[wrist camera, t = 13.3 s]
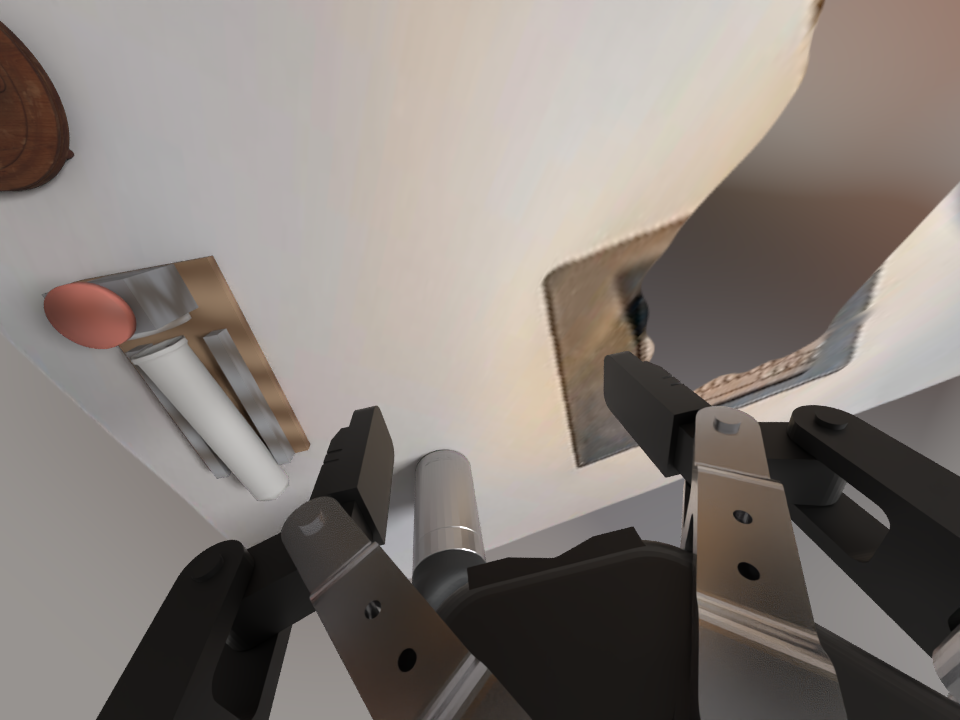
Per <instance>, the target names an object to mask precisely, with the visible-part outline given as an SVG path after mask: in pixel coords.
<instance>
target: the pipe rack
mask: <svg viewBox="0 0 960 720" xmlns="http://www.w3.org/2000/svg"><path fill="white" fill-rule="evenodd" d="M42 296H43V297H44V298H45V300H44V311H45V314H46V316H47V318H48V320H49V322H50V323H51V324H52V326H53V327H54V328H55V329H56V330H57V331H58V332H59V333H61V334H62V335H63V336H64V337H66V338H68V339H69V340H71V341H73V342H75V343H77V344H79V345H82V346H85V347H89V348H95V349H108V348H112V347H115V346H118V345H119V347H120V348H121V349H122V351H123V352H124V354H125V355H126V356H127V358H128V359H129V360H130V362H131V357H132V356H133V355H135V354H137V353H139V352H140V351H142V350H144V349H145V348H148V347H150V346H153V345H155V344H158V343H160V342H163V341H165V340H168V339H171V338H175V337H178V336H181V335H184V336H185V337H186V339H187V340H188V342H187V344H188V345H189V346H190V348H191V349H192V350H193V352H194V353H195V354H196V356H197V357H198V358H199V359H200V361H201V362H202V363H203V365H204V366H205V367H206V369H207V370H208V371H209V372H210V374H211V375H212V376H213V378H214V379H215V380H216V382H217V383H218V384H219V386H220V387H221V388H222V389H223V391H224V392H225V393H226V395H227V396H228V397H229V399H230V400H231V401H232V403H233V404H234V405H235V406H236V408H237V409H238V410H239V412H240V413H241V414H242V416H243V417H244V418H245V420H246V421H247V422H248V423H249V425H250V426H251V427H252V429H253V430H254V431H255V433H256V434H257V435H258V436H259V438H260V439H261V440H262V442H263V443H264V444H265V446H266V447H267V448H268V450H269V451H270V452H271V453H272V455H273V456H274V458H275V460H276V461H277V463H278V465H282V464H286V463H290V462H291V460H292V458H293V456H294V454H295V453H297V452H301V451H306V450H308V449H309V447H310V443H309V441H308V439H307V437H306V435H305V433H304V431H303V429H302V427H301V425H300V423H299V422H298V420H297V418H296V416H295V414H294V412H293V410H292V408H291V406H290V404H289V402H288V400H287V398H286V396H285V394H284V392H283V391H282V389H281V387H280V385H279V383H278V381H277V379H276V377H275V375H274V373H273V371H272V369H271V367H270V365H269V363H268V362H267V360H266V358H265V356H264V354H263V352H262V350H261V348H260V346H259V344H258V342H257V340H256V338H255V336H254V334H253V332H252V331H251V329H250V327H249V325H248V323H247V321H246V319H245V317H244V315H243V313H242V311H241V309H240V307H239V305H238V303H237V302H236V300H235V298H234V296H233V294H232V292H231V290H230V288H229V286H228V284H227V282H226V280H225V278H224V276H223V274H222V272H221V271H220V269H219V267H218V265H217V263H216V261H215V259H214V257H213V256H208V257H203V258H198V259H192V260H187V261H181V262H176V263H171V264H165V265H160V266H154V267H149V268H144V269H138V270H133V271H127V272H122V273H117V274H111V275H106V276H100V277H95V278H90V279H84V280H80V281H76V282H73V283H70V284H66V285H62V286H59V287H56V288H54V289H52V290H51V291H50V292H48V293H44V294H42ZM131 363H132V362H131ZM132 364H133V363H132ZM133 366H134V367H135V369H136V370H137V371H138V373H139V374H140V375H141V377H142V378H143V379H144V381H145V382H146V384H147V385H148V386H149V388H150V389H151V390H152V392H153V393H154V395H155V396H156V397H157V399H158V400H159V401H160V403H161V404H162V405H163V407H164V408H165V410H166V411H167V412H168V414H169V415H170V416H171V418H172V419H173V420H174V422H175V423H176V425H177V426H178V427H179V429H180V430H181V431H182V433H183V434H184V435H185V437H186V438H187V440H188V441H189V442H190V444H191V445H192V446H193V448H194V449H195V450H196V452H197V453H198V455H199V456H200V457H201V459H202V460H203V461H204V463H205V464H206V465H207V467H208V468H209V470H210V471H211V472H212V473H213V474H214V476H215V477H216V478H217V479H218V478H223V477H228V476H229V475H230V473H231V472H232V471H231V470H230V469H229V468H228V467H227V466H226V464H225V463H224V462H223V461H222V460H221V459H220V458H219V457H218V455H217V454H216V453H215V452H214V451H213V450H212V449H211V447H210V446H209V445H208V444H207V443H206V442H205V441H204V439H203V438H202V437H201V436H200V435H199V434H198V433H197V431H196V430H195V429H194V428H193V427H192V426H191V425H190V423H189V422H188V421H187V420H186V419H185V418H184V417H183V415H182V414H181V413H180V412H179V411H178V410H177V409H176V407H175V406H174V405H173V404H172V403H171V402H170V401H169V399H168V398H167V397H166V396H165V395H164V394H163V393H162V391H161V390H160V389H159V388H158V387H157V386H156V385H155V383H154V382H153V381H152V380H151V379H150V378H149V377H148V375H147V374H146V373H145V372H144V371H143V370H142V369H141V368H140V367H139V366H138V365H134V364H133Z"/></svg>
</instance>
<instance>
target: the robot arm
mask: <svg viewBox="0 0 960 720" xmlns="http://www.w3.org/2000/svg"><path fill="white" fill-rule="evenodd" d="M604 398H605V401H606V404H607V406H608V408H609V409H610V411H611V412H612V413H613V414H614V416H615V417H616V418H617V419H618V420H619V422H620V423H621V424H622V425H623V427H624V428H625V429H626V430H627V431H628V433H629V434H630V435H631V436H632V437H633V439H634V440H635V441H636V442H637V444H638V445H639V446H640V447H641V448H642V450H643V451H644V452H645V453H646V454H647V456H648V457H649V458H650V459H651V461H652V462H653V463H654V464H655V465H656V467H657V468H658V469H659V470H660V472H661V473H662V474H663V475H664V476H665V478H666V477H670V476H674V475H679V474H681V475H682V476H683V477H684V479H685V482H684V490H683V509H682V528H681V544H680V548H678V547H675V546H673V545H670V544H665V543H661V542H657V541H649V540H641V538H640V537H639V535H638V534H637V532H636V530H635V528H634V527H629V528H625V529H621V530H617V531H613V532H609V533H605V534H601V535H597V536H593V537H591V538H590V539H588V540H586V541H584V542H583V543H581V544H579V545H577V546H576V547H574V548H572V549H571V550H569V551H567V552H565V553H563V554H562V555H560V556H558V557H555V558H510V557H508V558H504V559H501V560H496V561H492V562H488V563H486V557H485V551H484V545H483V540H482V534H481V527H480V521H479V515H478V509H477V503H476V497H475V491H474V484H473V478H472V472H471V467H470V463H469V461H468V459H467V458H466V457H465V456H464V455H462V454H461V453H458V452H456V451H451V450H440V451H436V452H432V453H430V454H428V455H426V456H425V457H424V458H422V460H421V461H420V462H419V463H418V465H417V467H416V475H415V504H414V536H413V572H412V583H411V582H410V581H409V580H408V579H407V577H406V576H405V575H404V574H403V573H402V571H401V570H400V569H399V568H398V567H397V566H396V564H395V563H394V562H393V561H392V560H391V558H390V557H389V556H388V555H387V554H386V553H385V551H384V550H383V549H382V548H381V547H380V545H384V544H385V537H386V528H387V519H388V510H389V501H390V492H391V482H392V473H393V464H394V447H393V443H392V439H391V437H390V434H389V431H388V429H387V426H386V424H385V421H384V418H383V416H382V413H381V411H380V408H379V407H378V406H373V407H368V408H364V409H359V410H355V411H354V413H353V416H352V419H351V422H350V425H349V427H346V428H341V429H340V431H339V432H338V433H337V434H336V435H335V436H334V438H333V439H332V440H331V443H330V445H329V448H328V451H327V455H326V456H325V459H324V462H323V463H324V465H322V467H321V470H320V473H319V475H318V478H317V481H316V484H315V486H314V489H313V492H312V495H311V497H310V500H309V501H308V502H306V503H304V504H302V505H301V506H300V507H298V508H297V509H296V510H295V511H294V512H293V513H292V514H291V515H290V516H289V517H288V518H287V520H286V521H285V523H284V525H283V527H282V530H281V532H280V533H279V534H277V535H275V536H273V537H271V538H269V539H267V540H265V541H263V542H261V543H259V544H257V545H255V546H253V547H251V548H249V549H246V548H245V547H244V546H243V545H242V543H241V542H239V541H237V540H227V541H223V542H220V543H217V544H215V545H213V546H211V547H209V548H208V549H206V550H205V551H203V552H202V553H200V554H199V555H198V556H197V557H195V558H194V559H193V560H192V561H191V562H190V563H189V564H188V565H187V566H186V567H185V568H184V569H183V571H182V572H181V573H180V575H179V576H178V578H177V580H176V581H175V583H174V585H173V587H172V588H171V590H170V592H169V594H168V596H167V597H166V599H165V601H164V602H163V604H162V606H161V607H160V609H159V611H158V613H157V614H156V616H155V618H154V620H153V622H152V623H151V625H150V627H149V628H148V630H147V632H146V634H145V635H144V637H143V639H142V641H141V642H140V644H139V646H138V648H137V649H136V651H135V653H134V654H133V656H132V658H131V660H130V662H129V663H128V665H127V667H126V668H125V670H124V672H123V674H122V675H121V677H120V679H119V680H118V682H117V684H116V686H115V687H114V689H113V691H112V693H111V695H110V696H109V698H108V700H107V701H106V703H105V705H104V707H103V709H102V710H101V712H100V714H99V716H98V717H97V719H96V720H269V716H270V712H271V708H272V703H273V700H274V696H275V692H276V688H277V684H278V679H279V676H280V672H281V668H282V664H283V660H284V656H285V652H286V648H287V644H288V640H289V635H290V632H291V628H292V624H294V623H296V622H298V621H299V620H301V619H303V618H304V617H306V616H308V615H309V614H311V613H313V612H315V611H316V612H317V614H318V616H319V618H320V620H321V622H322V623H323V625H324V627H325V629H326V631H327V633H328V635H329V637H330V639H331V641H332V642H333V644H334V646H335V648H336V650H337V652H338V654H339V656H340V658H341V660H342V662H343V663H344V665H345V667H346V669H347V671H348V673H349V675H350V677H351V679H352V681H353V682H354V684H355V686H356V688H357V690H358V692H359V694H360V696H361V698H362V700H363V701H364V703H365V705H366V707H367V709H368V711H369V713H370V715H371V717H372V719H373V720H960V476H958V475H956V474H954V473H953V472H951V471H949V470H947V469H946V468H944V467H942V466H940V465H939V464H937V463H935V462H934V461H932V460H930V459H928V458H927V457H925V456H923V455H922V454H920V453H918V452H916V451H914V450H913V449H911V448H909V447H908V446H906V445H904V444H903V443H901V442H899V441H897V440H896V439H894V438H892V437H890V436H889V435H887V434H885V433H884V432H882V431H880V430H878V429H877V428H875V427H873V426H871V425H870V424H868V423H866V422H865V421H863V420H861V419H859V418H858V417H855V416H854V415H852V414H850V413H847V412H845V411H842V410H839V409H835V408H831V407H826V406H818V405H807V406H801V407H798V408H796V409H795V410H794V411H793V413H792V415H791V418H790V421H789V422H757V421H756V420H755V419H754V418H753V417H752V416H750V415H748V414H747V413H745V412H743V411H740V410H737V409H734V408H730V407H724V406H711V405H710V404H709V403H707V402H706V401H705V400H703V399H702V398H701V397H699V396H698V395H697V394H696V393H694V392H693V391H692V390H690V389H689V388H688V387H687V386H685V385H684V384H681V382H680V381H679V380H677V379H676V378H675V377H672V375H671V374H670V373H668V372H667V371H666V370H664V369H663V368H662V367H660V366H657V365H655V364H652V363H650V362H647V361H645V362H642V361H641V360H640V359H638V358H637V357H636V356H635V355H633V354H632V353H631V352H629V351H625V352H620V353H616V354H611V355H607V356H606V357H605V359H604ZM847 482H848V483H849V484H850V485H852V486H853V487H854V488H856V489H857V490H858V491H860V492H861V493H862V494H864V495H865V496H866V497H868V498H869V499H870V500H872V501H873V502H874V503H875V504H877V505H878V506H879V507H880V508H881V509H882V510H883V511H884V512H885V514H886V515H887V517H888V519H889V522H890V530H889V529H888V528H887V527H885V526H884V525H883V524H881V523H880V522H879V521H878V520H877V519H875V518H874V517H873V516H872V515H870V514H869V513H868V512H867V511H865V510H864V509H863V508H861V507H860V506H859V505H858V504H856V503H855V502H854V501H853V500H851V499H850V498H849V497H848V496H846V495H845V494H844V493H842V491H843V489H844V487H845V485H846V483H847ZM791 520H792V521H793V522H794V523H795V524H796V525H797V526H798V527H799V528H800V529H801V530H802V531H803V532H804V533H805V534H806V535H807V536H808V537H809V538H811V539H812V540H813V541H814V542H815V543H816V544H817V545H818V546H819V547H820V548H821V549H822V550H823V551H824V552H825V553H826V554H827V555H828V556H829V557H830V558H831V559H832V560H833V561H834V562H835V563H836V564H837V565H838V566H839V567H840V568H841V569H842V570H843V571H844V572H845V573H846V574H847V575H848V576H849V577H850V578H851V579H852V580H853V581H854V582H855V583H856V584H858V586H859V587H860V588H861V589H862V590H863V591H864V592H865V593H866V594H867V595H868V596H869V597H870V598H871V599H872V600H873V601H874V602H875V603H876V604H877V605H878V606H879V607H880V608H881V609H882V610H883V611H884V612H885V613H886V614H887V615H889V617H890V618H892V619H893V620H894V621H895V622H896V623H897V624H898V625H899V626H900V627H901V628H902V629H903V630H904V631H905V632H906V633H907V634H908V635H909V636H910V637H911V638H912V639H913V640H914V641H915V642H916V643H917V644H918V645H919V646H920V647H921V648H922V649H923V650H924V651H925V652H926V653H927V654H928V655H929V656H930V657H931V658H932V659H933V665H934V668H935V671H936V672H937V675H938V676H939V678H940V680H941V681H942V683H943V684H944V686H945V687H946V688H947V690H948V691H949V693H948V695H947V697H945V696H944V695H942V694H940V693H938V692H937V691H935V690H933V689H931V688H930V687H928V686H926V685H924V684H922V683H921V682H919V681H917V680H915V679H914V678H912V677H910V676H908V675H907V674H905V673H903V672H901V671H900V670H898V669H896V668H894V667H893V666H891V665H889V664H887V663H885V662H884V661H882V660H880V659H878V658H877V657H874V656H873V655H871V654H870V653H868V652H866V651H864V650H862V649H861V648H859V647H857V646H855V645H854V644H852V643H850V642H848V641H846V640H845V639H843V638H841V637H840V636H838V635H836V634H834V633H832V632H831V631H829V630H827V629H825V628H824V627H822V626H820V625H818V624H816V623H815V622H814V618H813V614H812V610H811V605H810V601H809V597H808V592H807V588H806V583H805V579H804V575H803V570H802V566H801V561H800V557H799V553H798V548H797V544H796V540H795V535H794V532H793V527H792V522H791Z"/></svg>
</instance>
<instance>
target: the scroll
mask: <svg viewBox="0 0 960 720" xmlns="http://www.w3.org/2000/svg"><path fill="white" fill-rule="evenodd" d="M73 156H74V153H73V151H71V150H70V149H69V127H68V122H67V117H66V114H65V111H64V107H63V105H62V102H61V100H60V97H59V95H58V93H57V91H56V89H55V87H54V85H53V83H52V82H51V80H50V78H49V76H48V75H47V73H46V72H45V70H44V69H43V67H42V66H41V64H40V63H39V62H38V60H37V59H36V58H35V57H34V55H33V54H32V53H31V52H30V50H29V49H28V48H27V47H26V46H25V45H24V43H23V42H22V41H21V40H20V39H19V38H18V37H17V36H16V35H15V34H14V33H13V32H12V31H11V30H10V29H9V28H8V27H6V26H5V25H4V24H3V23H2V22H1V21H0V191H20V190H27V189H32V188H35V187H38V186H41V185H43V184H45V183H47V182H48V181H50V180H51V179H52V178H54V177H55V176H56V175H57V174H58V172H59V171H60V170H61V168H62V167H63V165H64V163H65V161H66V159H70V158H72V157H73Z"/></svg>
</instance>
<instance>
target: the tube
mask: <svg viewBox="0 0 960 720" xmlns="http://www.w3.org/2000/svg"><path fill="white" fill-rule="evenodd" d="M187 342H188V340H187V339H186V337H185V336H184V335H181V336H178V337H175V338H171V339H168V340H165V341H163V342H160V343H158V344H155V345H153V346H150V347H148V348H145V349H144V350H142V351H140V352H139V353H137V354H135V355H133V356H132V357H131V362H132V363H133V364H134V365H138V366H139V367H140V368H141V369H142V370H143V371H144V372H145V373H146V374H147V375H148V377H149V378H150V379H151V380H152V381H153V382H154V383H155V385H156V386H157V387H158V388H159V389H160V390H161V391H162V393H163V394H164V395H165V396H166V397H167V398H168V399H169V401H170V402H171V403H172V404H173V405H174V406H175V407H176V409H177V410H178V411H179V412H180V413H181V414H182V415H183V417H184V418H185V419H186V420H187V421H188V422H189V423H190V425H191V426H192V427H193V428H194V429H195V430H196V431H197V433H198V434H199V435H200V436H201V437H202V438H203V439H204V441H205V442H206V443H207V444H208V445H209V446H210V447H211V449H212V450H213V451H214V452H215V453H216V454H217V455H218V457H219V458H220V459H221V460H222V461H223V462H224V463H225V464H226V466H227V467H228V468H229V469H230V470H231V471H232V472H233V474H234V475H235V476H236V477H237V478H238V479H239V480H240V482H241V483H242V484H243V485H244V486H245V487H246V488H247V490H248V491H249V492H250V493H251V494H252V495H253V496H254V498H255V499H256V500H257V501H270V500H276V499H277V498H278V497H279V496H280V495H281V494H282V493H283V492H284V491H285V490H286V488H287V487H288V486H289V476H288V475H287V473H286V472H285V470H284V469H283V468H282V467H281V465H278V463H277V461H276V460H275V458H274V456H273V455H272V453H271V452H270V451H269V450H268V448H267V447H266V446H265V444H264V443H263V442H262V440H261V439H260V438H259V436H258V435H257V434H256V433H255V431H254V430H253V429H252V427H251V426H250V425H249V423H248V422H247V421H246V420H245V418H244V417H243V416H242V414H241V413H240V412H239V410H238V409H237V408H236V406H235V405H234V404H233V403H232V401H231V400H230V399H229V397H228V396H227V395H226V393H225V392H224V391H223V389H222V388H221V387H220V386H219V384H218V383H217V382H216V380H215V379H214V378H213V376H212V375H211V374H210V372H209V371H208V370H207V369H206V367H205V366H204V365H203V363H202V362H201V361H200V359H199V358H198V357H197V356H196V354H195V353H194V352H193V350H192V349H191V348H190V346H189V345H188V344H187Z"/></svg>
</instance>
